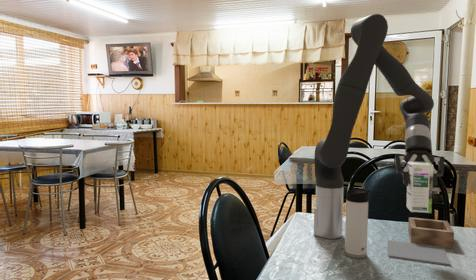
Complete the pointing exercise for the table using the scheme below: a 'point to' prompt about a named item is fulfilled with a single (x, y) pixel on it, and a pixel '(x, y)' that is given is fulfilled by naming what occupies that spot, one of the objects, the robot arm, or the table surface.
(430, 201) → the syrup box
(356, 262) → the table surface
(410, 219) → the walnut holder
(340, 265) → the table surface
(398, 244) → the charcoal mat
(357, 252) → the travel mug
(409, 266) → the table surface
